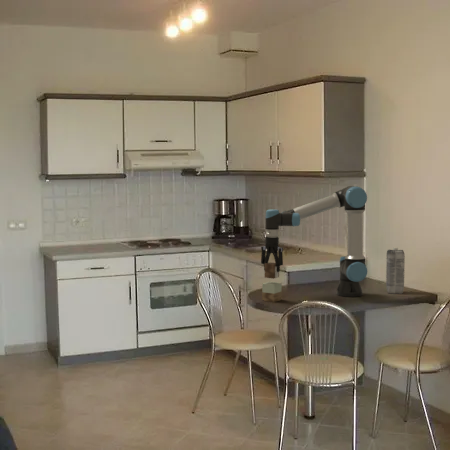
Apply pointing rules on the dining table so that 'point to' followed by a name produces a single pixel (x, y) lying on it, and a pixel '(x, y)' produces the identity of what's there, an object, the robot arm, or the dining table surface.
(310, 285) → the dining table surface
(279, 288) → the tower top
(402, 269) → the juice carton
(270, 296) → the tower base
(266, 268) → the block
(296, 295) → the dining table surface
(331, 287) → the dining table surface
